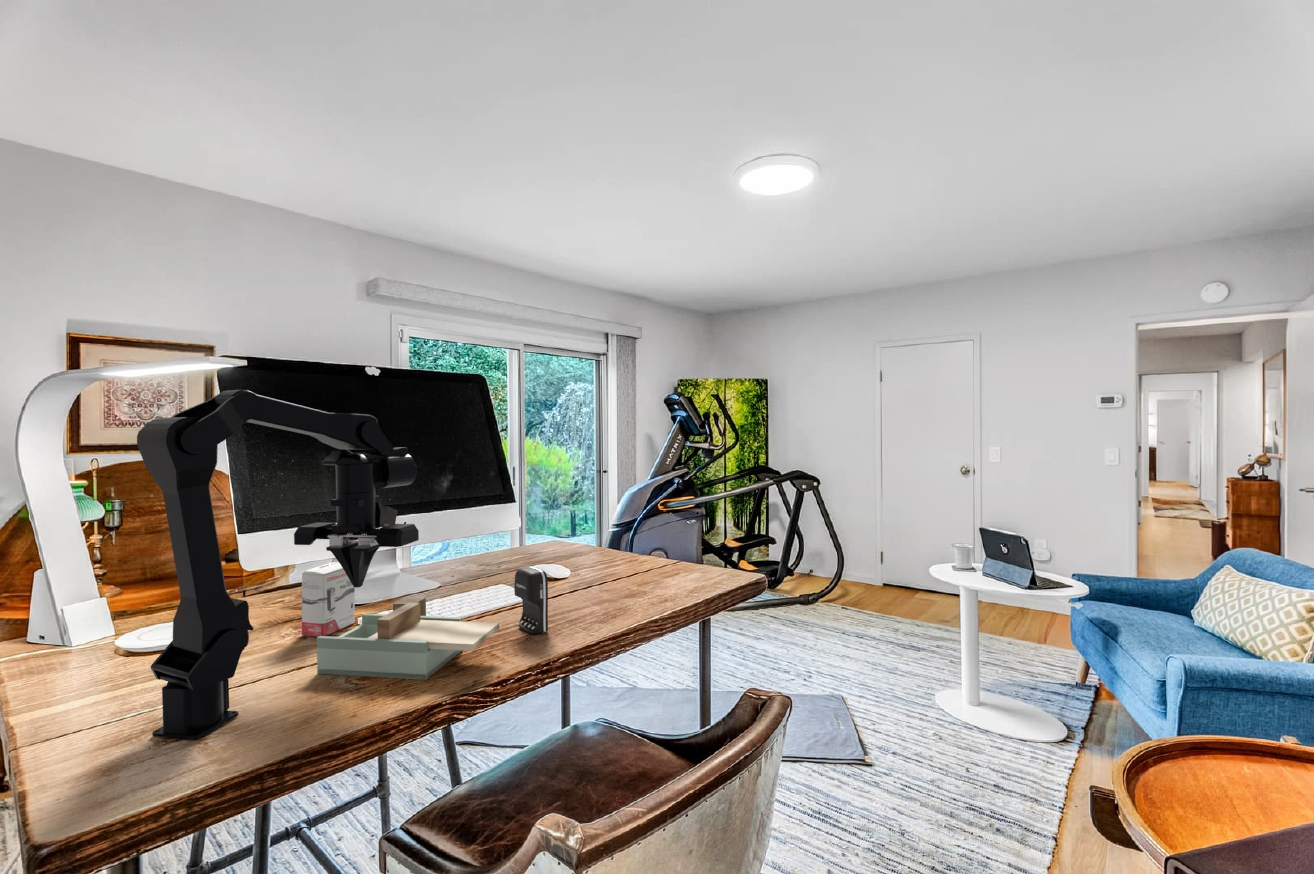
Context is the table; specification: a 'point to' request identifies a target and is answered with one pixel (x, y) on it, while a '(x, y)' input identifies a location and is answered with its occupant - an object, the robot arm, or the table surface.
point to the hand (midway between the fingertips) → (358, 586)
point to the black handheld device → (532, 599)
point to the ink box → (326, 600)
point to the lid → (433, 630)
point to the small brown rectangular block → (412, 600)
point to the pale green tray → (380, 653)
